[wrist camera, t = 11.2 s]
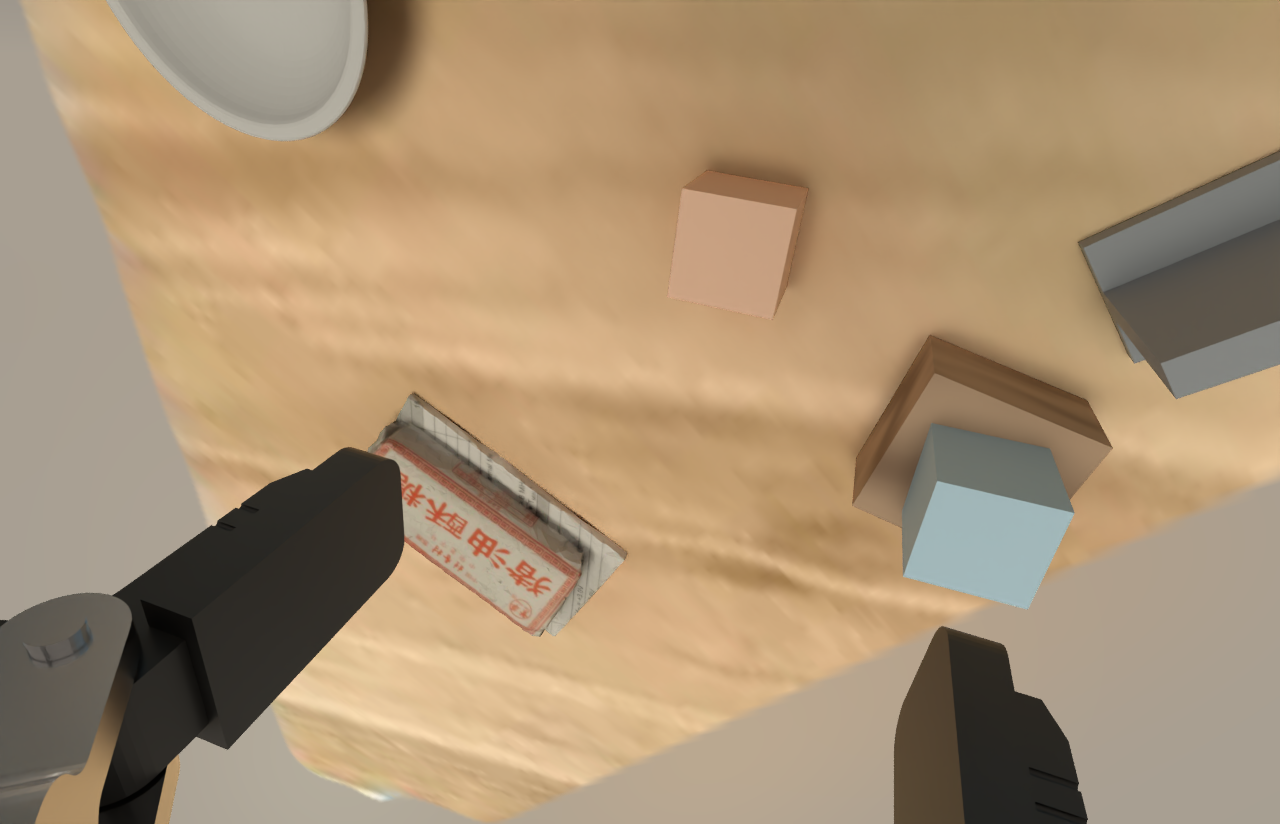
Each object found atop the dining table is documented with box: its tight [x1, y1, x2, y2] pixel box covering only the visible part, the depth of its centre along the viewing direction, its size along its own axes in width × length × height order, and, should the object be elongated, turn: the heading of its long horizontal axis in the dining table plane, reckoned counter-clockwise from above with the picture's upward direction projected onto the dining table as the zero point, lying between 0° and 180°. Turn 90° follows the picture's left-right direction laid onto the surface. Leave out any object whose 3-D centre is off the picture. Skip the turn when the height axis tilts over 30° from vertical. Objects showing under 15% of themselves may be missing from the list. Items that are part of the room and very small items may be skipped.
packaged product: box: [368, 394, 627, 637], centre depth 48 cm, size 18×5×10 cm
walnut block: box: [852, 335, 1113, 528], centre depth 35 cm, size 8×8×5 cm
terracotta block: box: [667, 170, 809, 320], centre depth 34 cm, size 5×5×5 cm
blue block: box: [902, 423, 1074, 609], centre depth 31 cm, size 5×5×5 cm
